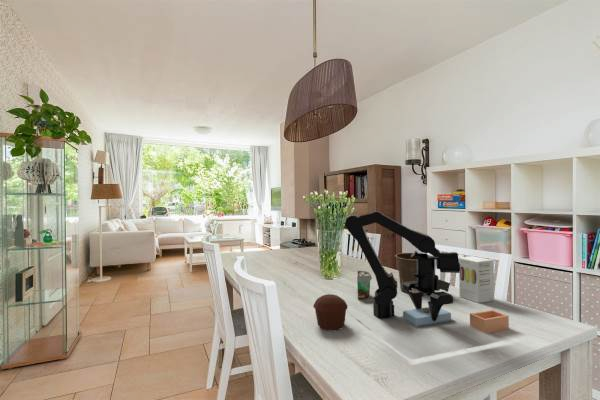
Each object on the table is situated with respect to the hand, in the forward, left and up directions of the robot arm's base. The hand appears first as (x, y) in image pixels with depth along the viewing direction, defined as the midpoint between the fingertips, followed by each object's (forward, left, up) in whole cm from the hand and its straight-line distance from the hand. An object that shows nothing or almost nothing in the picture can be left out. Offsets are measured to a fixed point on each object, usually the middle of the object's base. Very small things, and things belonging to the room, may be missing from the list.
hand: (426, 316), depth 104 cm
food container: (-6, +32, -2) cm, 33 cm away
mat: (0, 0, -2) cm, 2 cm away
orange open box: (+14, -12, -2) cm, 19 cm away
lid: (0, 0, -1) cm, 1 cm away
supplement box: (+36, +13, -2) cm, 38 cm away
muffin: (-32, +9, -2) cm, 33 cm away
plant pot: (+19, +31, -2) cm, 36 cm away
